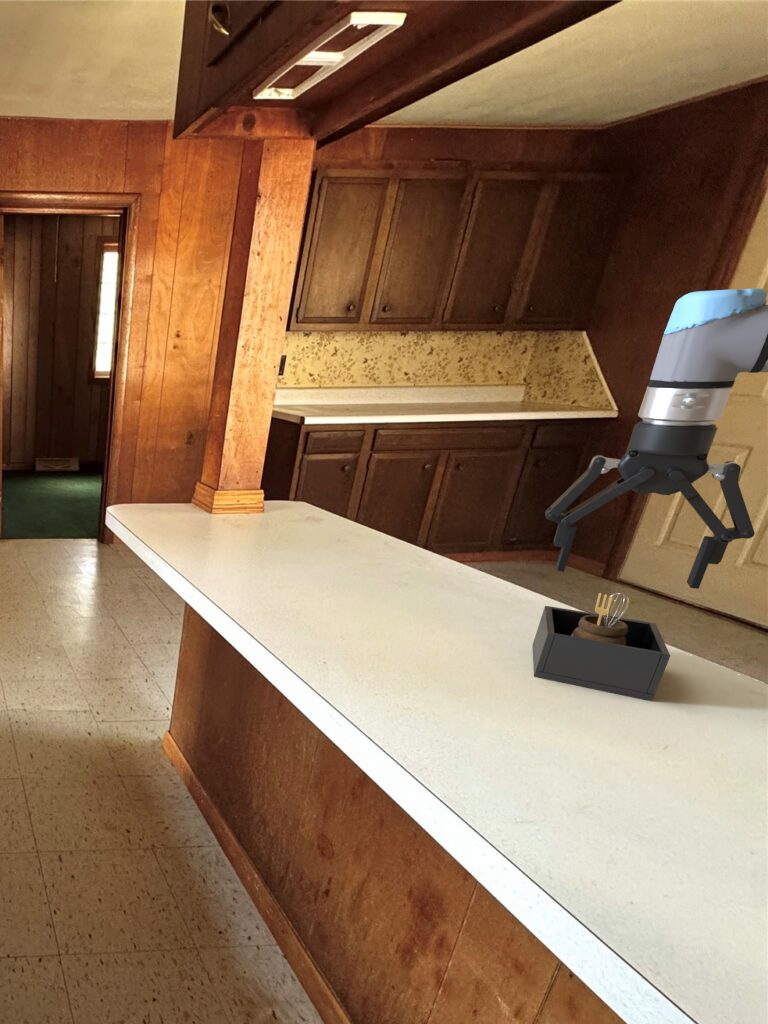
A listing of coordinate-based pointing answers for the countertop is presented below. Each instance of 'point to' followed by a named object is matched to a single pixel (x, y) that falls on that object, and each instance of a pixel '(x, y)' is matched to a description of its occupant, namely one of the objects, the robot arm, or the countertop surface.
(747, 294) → the robot arm
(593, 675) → the dark grey open box
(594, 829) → the countertop surface
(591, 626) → the utensil holder
